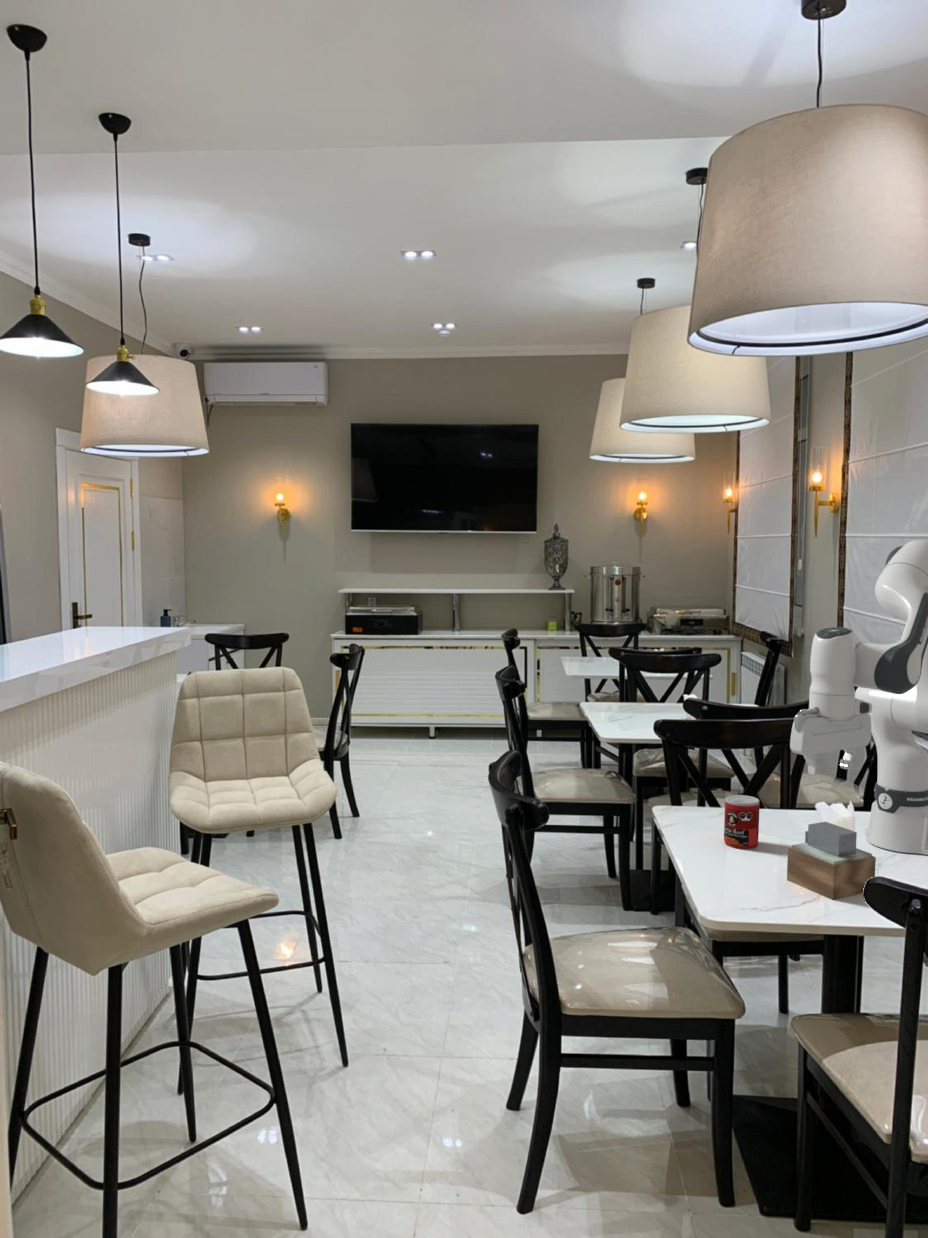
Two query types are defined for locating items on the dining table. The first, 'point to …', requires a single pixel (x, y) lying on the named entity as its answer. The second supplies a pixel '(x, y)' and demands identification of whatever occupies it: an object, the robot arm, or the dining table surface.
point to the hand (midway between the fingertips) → (829, 771)
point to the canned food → (741, 821)
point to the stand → (829, 871)
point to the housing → (831, 839)
